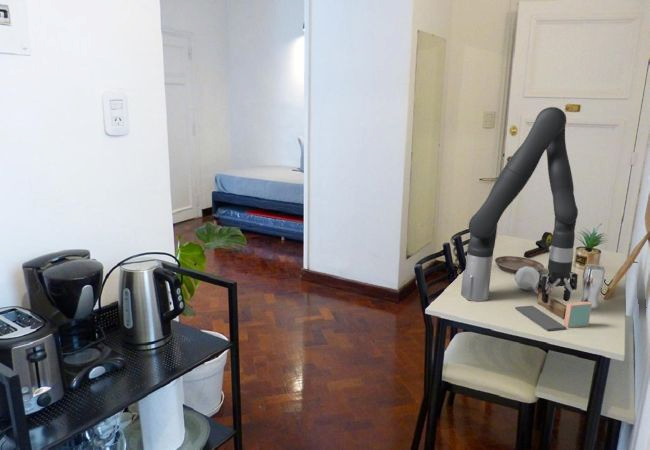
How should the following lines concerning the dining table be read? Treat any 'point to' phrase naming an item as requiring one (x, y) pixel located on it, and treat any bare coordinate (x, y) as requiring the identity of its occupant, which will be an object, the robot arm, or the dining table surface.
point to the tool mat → (540, 318)
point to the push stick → (553, 306)
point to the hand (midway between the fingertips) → (555, 301)
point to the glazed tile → (577, 314)
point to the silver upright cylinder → (592, 283)
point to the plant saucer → (517, 264)
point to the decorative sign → (540, 246)
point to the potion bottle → (528, 279)
